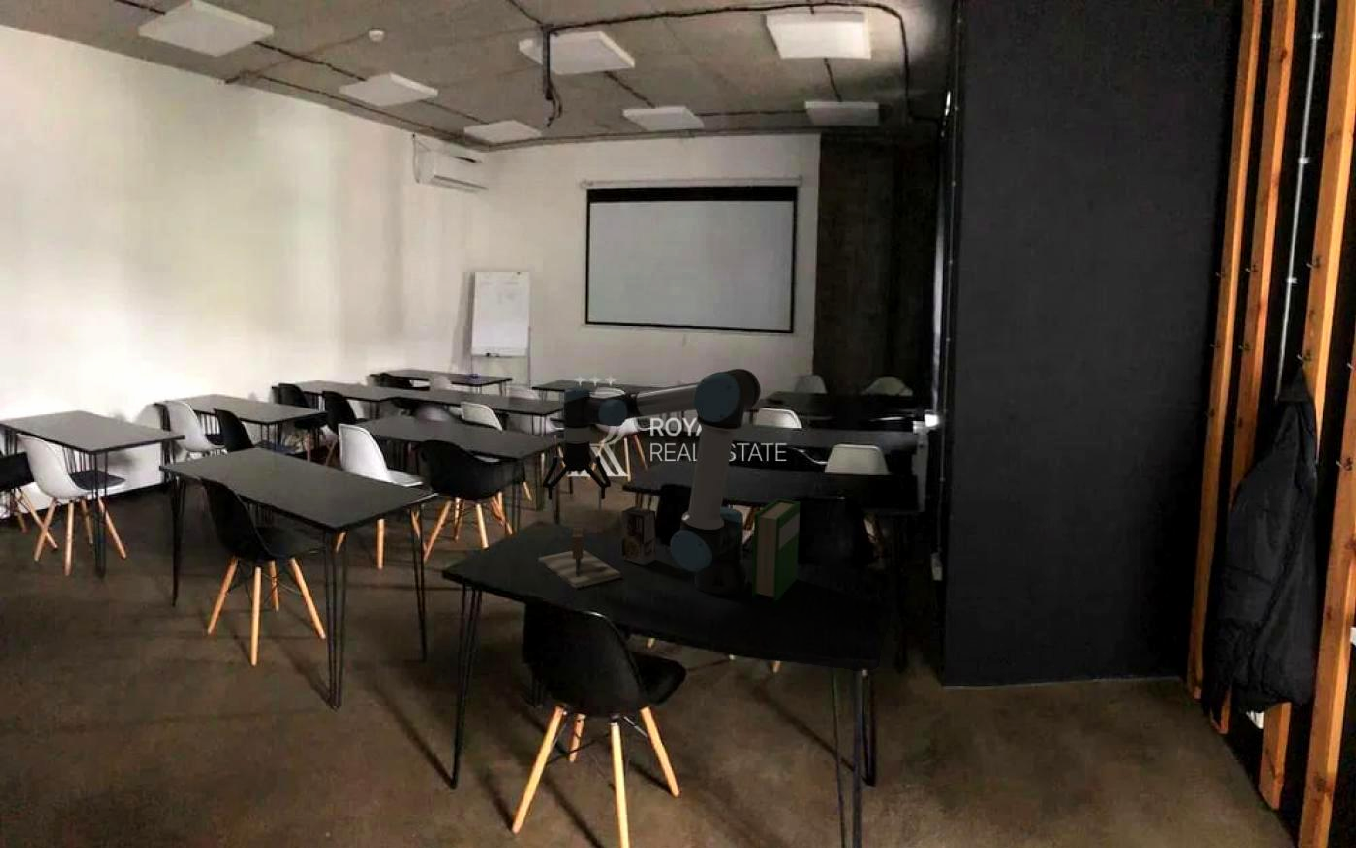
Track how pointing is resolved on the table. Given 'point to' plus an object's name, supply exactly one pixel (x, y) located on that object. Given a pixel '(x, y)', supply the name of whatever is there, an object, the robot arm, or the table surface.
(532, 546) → the table surface
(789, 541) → the hardback book
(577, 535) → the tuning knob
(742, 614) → the table surface
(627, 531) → the coffee box
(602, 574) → the striped wooden board
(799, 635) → the table surface
